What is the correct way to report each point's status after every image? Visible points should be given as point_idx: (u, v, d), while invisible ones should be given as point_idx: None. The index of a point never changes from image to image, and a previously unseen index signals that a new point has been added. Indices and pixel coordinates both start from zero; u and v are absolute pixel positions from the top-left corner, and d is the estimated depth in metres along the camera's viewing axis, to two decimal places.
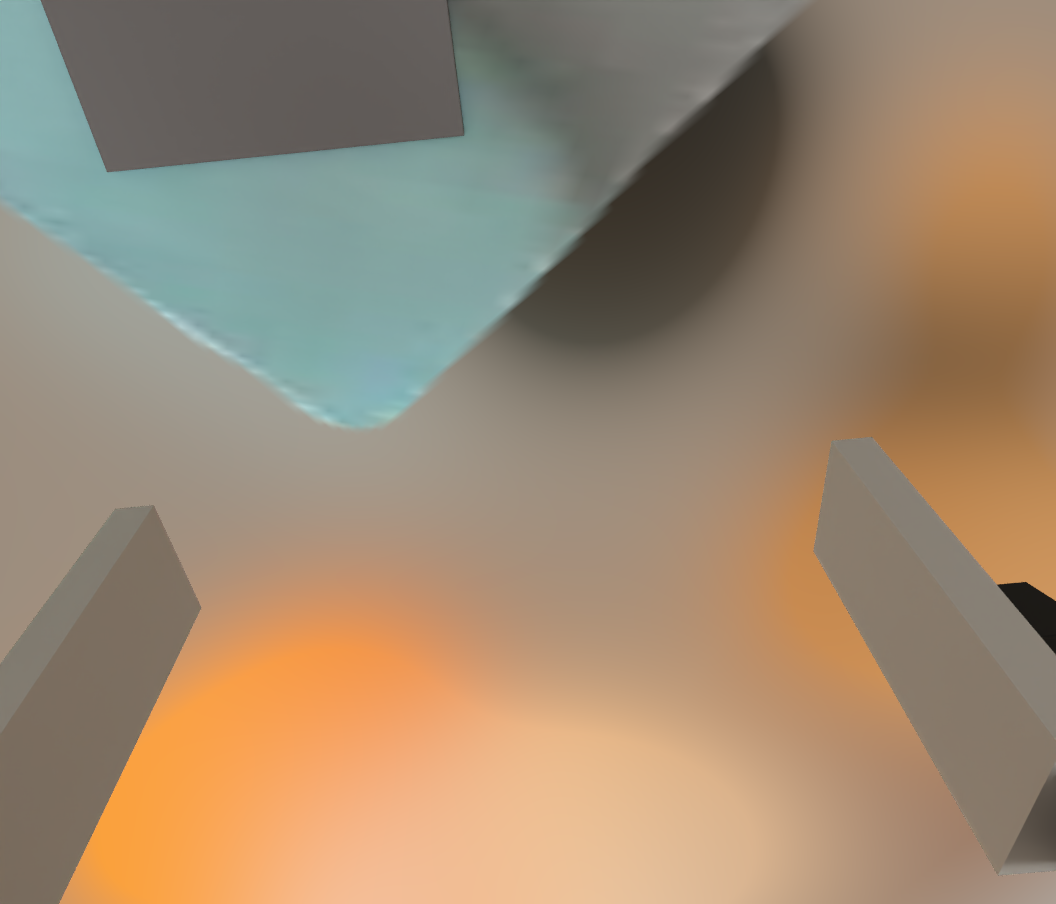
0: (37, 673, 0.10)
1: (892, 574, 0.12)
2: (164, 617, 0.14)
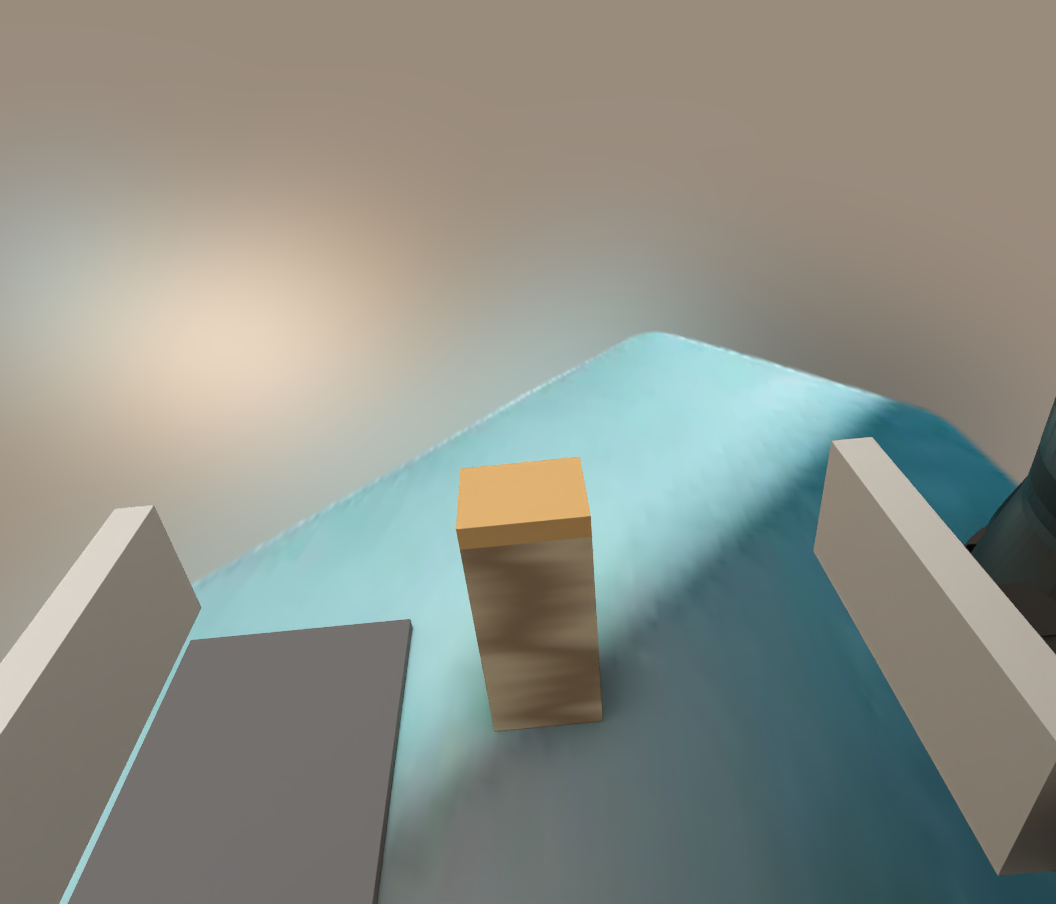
0: (37, 673, 0.10)
1: (892, 574, 0.12)
2: (164, 617, 0.14)
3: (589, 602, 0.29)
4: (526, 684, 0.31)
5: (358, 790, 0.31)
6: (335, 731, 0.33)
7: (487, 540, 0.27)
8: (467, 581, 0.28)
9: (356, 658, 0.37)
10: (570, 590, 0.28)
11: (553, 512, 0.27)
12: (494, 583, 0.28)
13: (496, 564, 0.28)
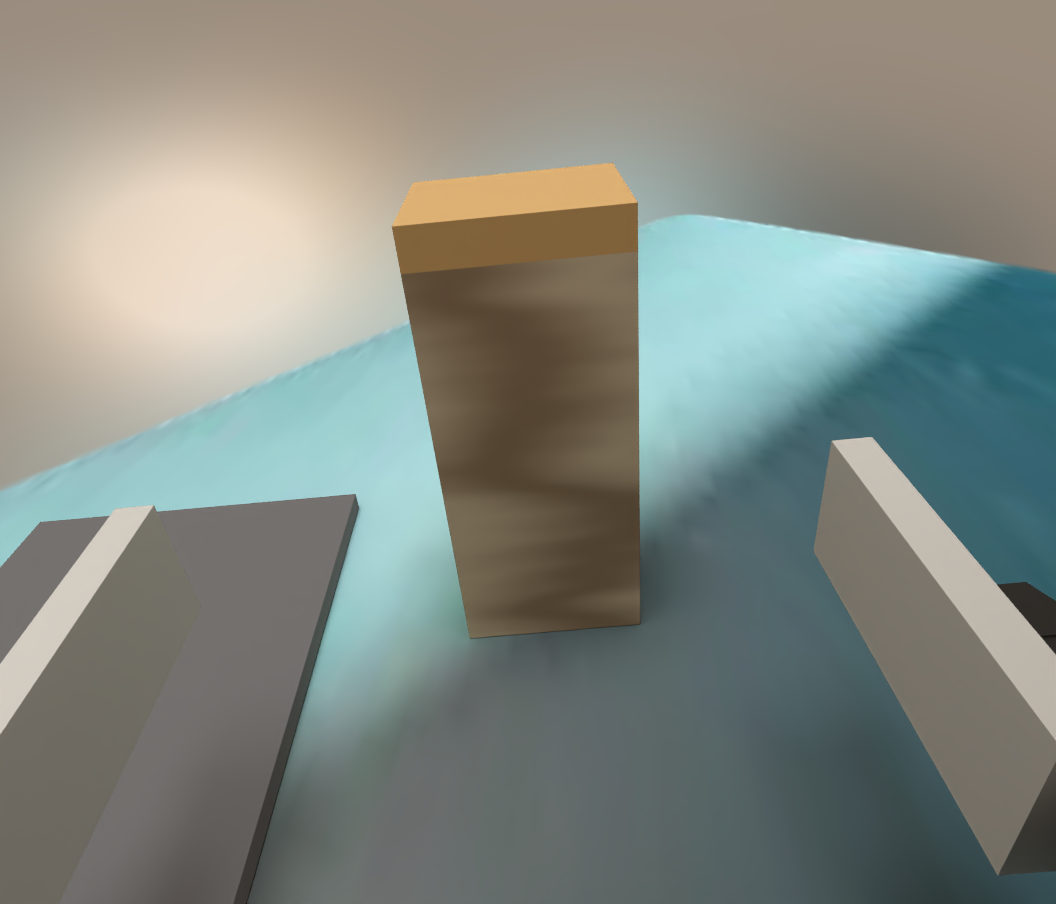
0: (37, 673, 0.10)
1: (892, 574, 0.12)
2: (164, 617, 0.14)
3: (627, 396, 0.17)
4: (520, 555, 0.19)
5: (241, 719, 0.19)
6: (221, 635, 0.21)
7: (449, 253, 0.15)
8: (416, 345, 0.16)
9: (270, 541, 0.25)
10: (596, 369, 0.16)
11: (569, 203, 0.15)
12: (464, 349, 0.16)
13: (465, 309, 0.16)
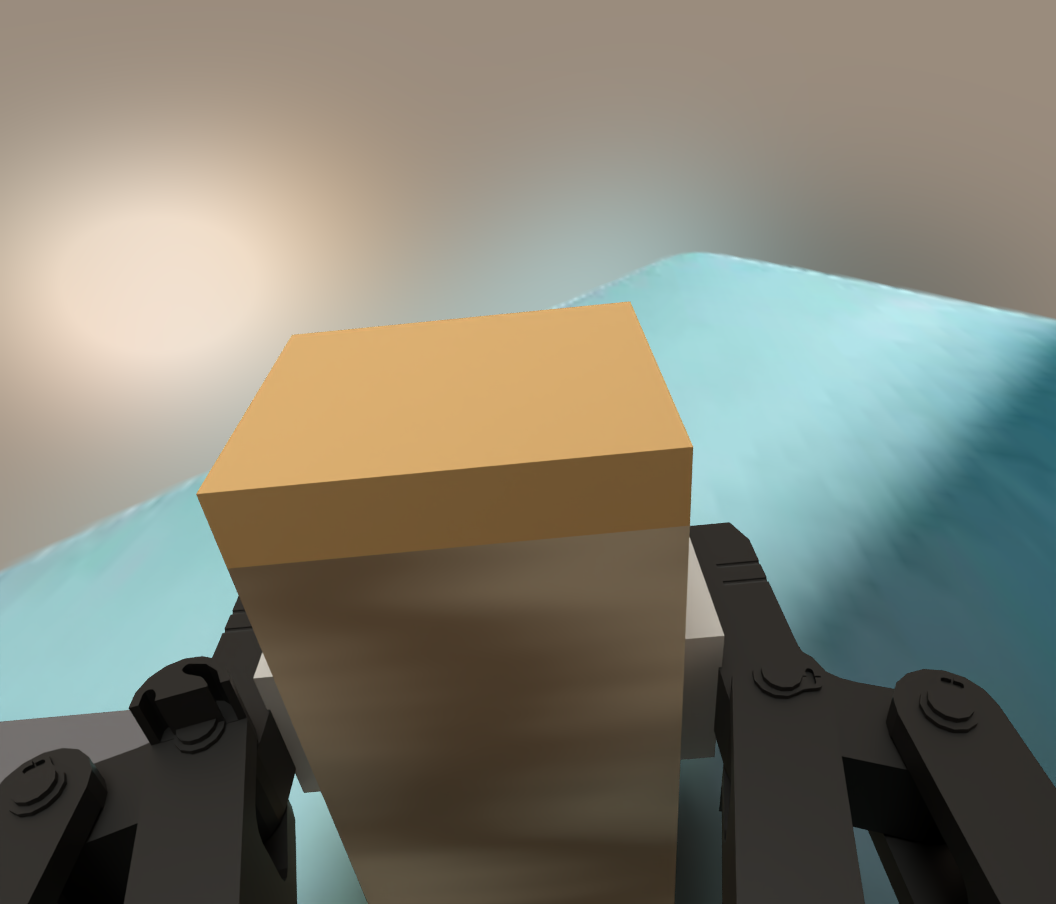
0: None
1: None
2: None
3: (662, 729, 0.10)
4: None
5: None
6: None
7: (318, 534, 0.08)
8: (274, 670, 0.09)
9: None
10: (606, 696, 0.09)
11: (555, 435, 0.08)
12: (364, 673, 0.09)
13: (361, 618, 0.08)
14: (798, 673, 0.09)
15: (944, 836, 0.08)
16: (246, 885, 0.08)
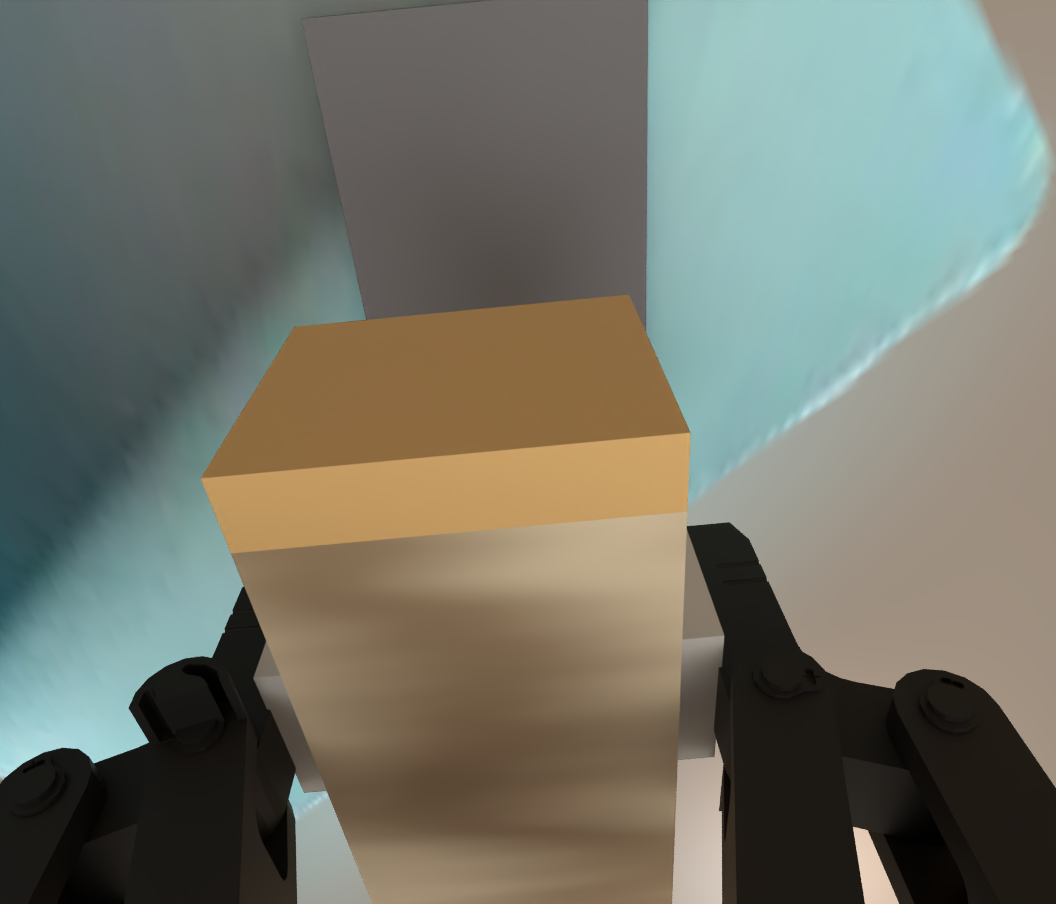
0: None
1: None
2: None
3: (660, 716, 0.10)
4: None
5: (382, 252, 0.29)
6: None
7: (320, 519, 0.08)
8: (276, 655, 0.09)
9: None
10: (604, 682, 0.09)
11: (555, 421, 0.08)
12: (365, 659, 0.09)
13: (362, 603, 0.08)
14: (798, 673, 0.09)
15: (944, 836, 0.08)
16: (246, 885, 0.08)
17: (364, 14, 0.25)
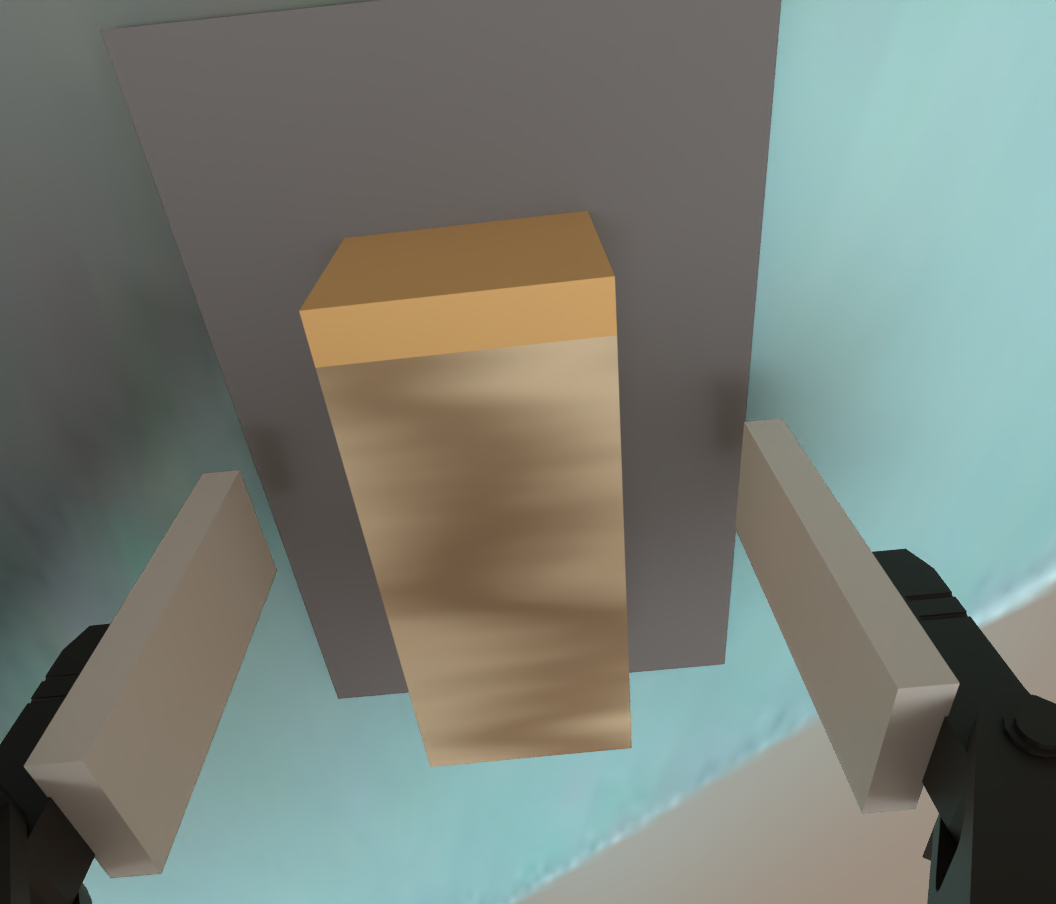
0: (157, 615, 0.11)
1: (787, 543, 0.12)
2: (249, 576, 0.14)
3: (609, 503, 0.14)
4: (486, 679, 0.16)
5: (295, 426, 0.17)
6: None
7: (375, 341, 0.12)
8: (342, 450, 0.13)
9: None
10: (568, 473, 0.13)
11: (528, 276, 0.12)
12: (402, 453, 0.13)
13: (401, 407, 0.12)
14: None
15: None
16: None
17: (225, 20, 0.13)
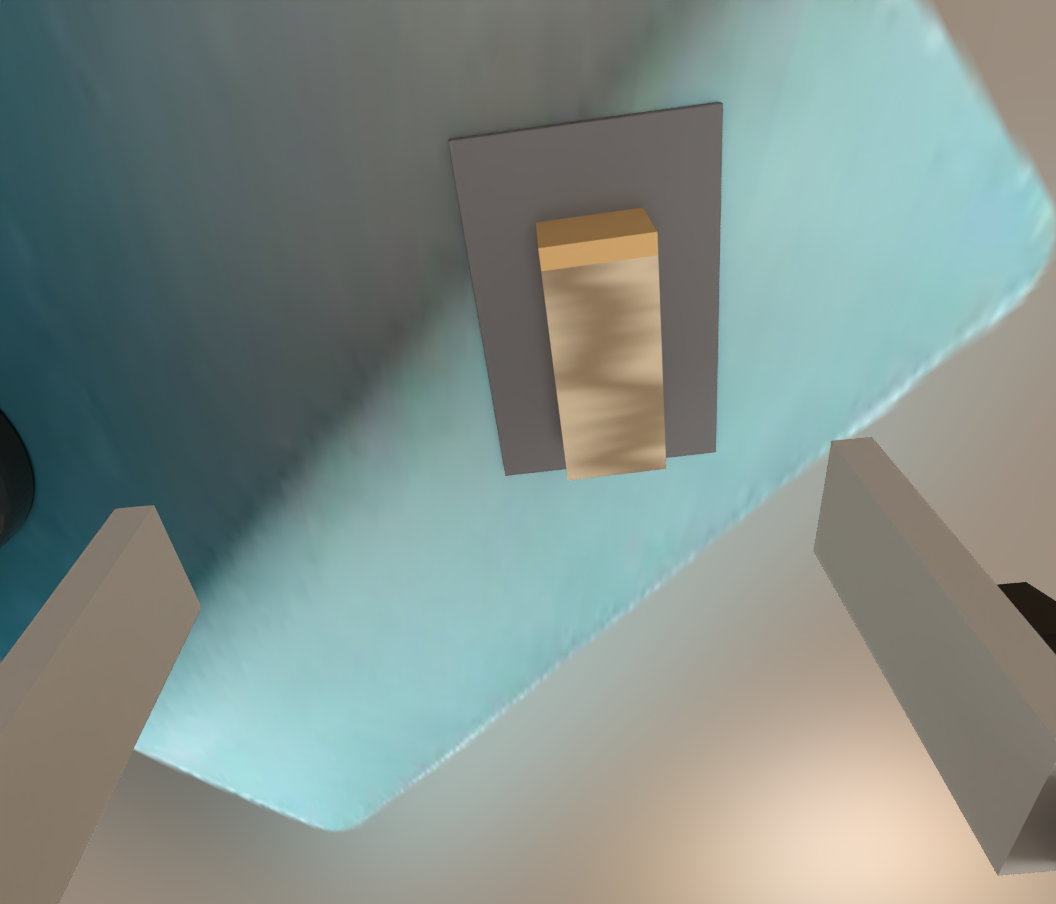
0: (38, 673, 0.10)
1: (892, 574, 0.12)
2: (164, 617, 0.14)
3: (655, 330, 0.32)
4: (597, 425, 0.35)
5: (503, 313, 0.36)
6: (541, 365, 0.37)
7: (565, 260, 0.30)
8: (547, 307, 0.32)
9: (544, 434, 0.40)
10: (638, 316, 0.32)
11: (623, 233, 0.30)
12: (571, 308, 0.32)
13: (572, 287, 0.31)
14: None
15: None
16: None
17: (497, 135, 0.32)
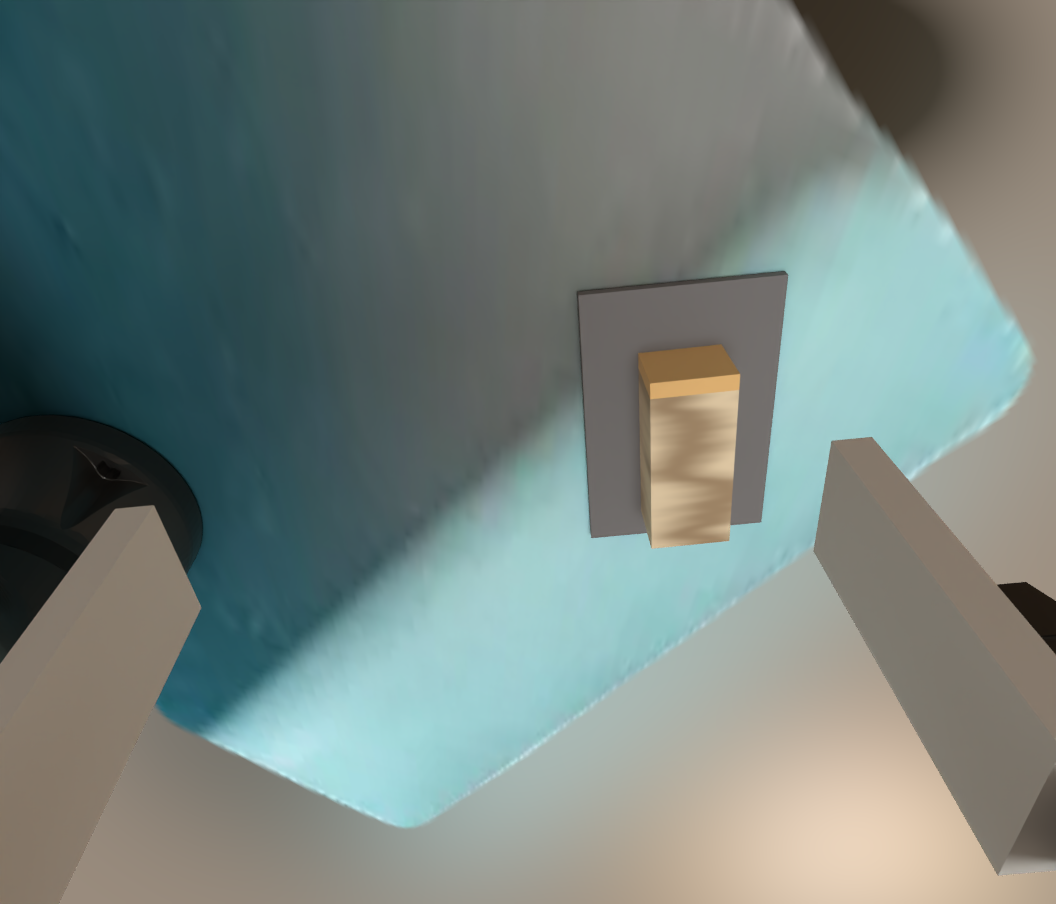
0: (37, 673, 0.10)
1: (893, 574, 0.12)
2: (164, 617, 0.14)
3: (731, 441, 0.42)
4: (679, 509, 0.45)
5: (604, 417, 0.46)
6: (630, 455, 0.47)
7: (669, 392, 0.40)
8: (651, 424, 0.41)
9: (626, 507, 0.49)
10: (719, 431, 0.42)
11: (714, 373, 0.40)
12: (669, 425, 0.41)
13: (672, 411, 0.41)
14: None
15: None
16: None
17: (616, 292, 0.41)
